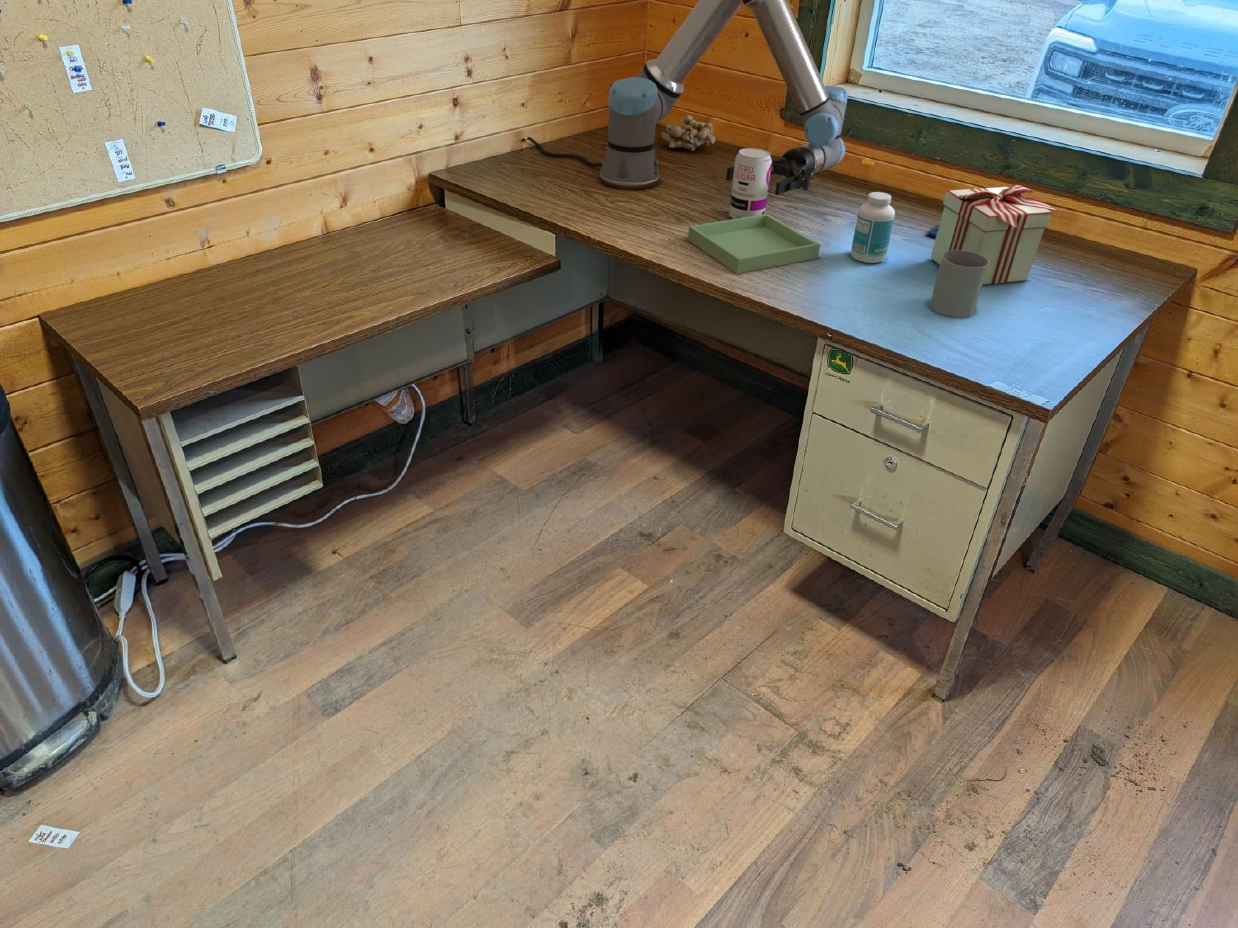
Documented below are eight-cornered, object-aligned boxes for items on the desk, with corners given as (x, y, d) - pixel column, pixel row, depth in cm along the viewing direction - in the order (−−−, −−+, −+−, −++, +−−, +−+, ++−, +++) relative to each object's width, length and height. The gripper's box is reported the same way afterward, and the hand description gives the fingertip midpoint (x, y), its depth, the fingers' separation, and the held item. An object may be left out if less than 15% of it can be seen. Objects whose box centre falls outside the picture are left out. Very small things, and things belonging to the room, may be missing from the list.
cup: (923, 298, 173) (935, 250, 168) (963, 298, 174) (977, 250, 168) (939, 317, 167) (953, 268, 161) (981, 317, 167) (996, 268, 162)
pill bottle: (886, 254, 191) (900, 192, 183) (883, 267, 186) (897, 203, 178) (851, 248, 193) (864, 187, 185) (847, 261, 187) (859, 198, 180)
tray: (687, 240, 194) (689, 226, 192) (765, 226, 202) (766, 213, 200) (737, 273, 180) (738, 259, 178) (817, 258, 188) (820, 244, 186)
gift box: (981, 295, 175) (1006, 211, 165) (923, 260, 189) (943, 180, 179) (1048, 285, 181) (1076, 202, 171) (987, 251, 194) (1009, 173, 184)
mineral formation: (687, 138, 258) (728, 146, 249) (657, 154, 251) (698, 163, 242) (685, 110, 253) (726, 117, 244) (654, 126, 246) (695, 134, 237)
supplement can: (763, 213, 210) (771, 148, 201) (764, 225, 203) (773, 159, 194) (729, 210, 210) (736, 146, 201) (729, 223, 203) (736, 157, 195)
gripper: (843, 190, 211) (796, 212, 197) (757, 166, 224) (707, 185, 210) (849, 158, 206) (801, 178, 193) (760, 135, 219) (709, 153, 206)
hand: (752, 181), depth 202 cm, fingers open, 13 cm apart
